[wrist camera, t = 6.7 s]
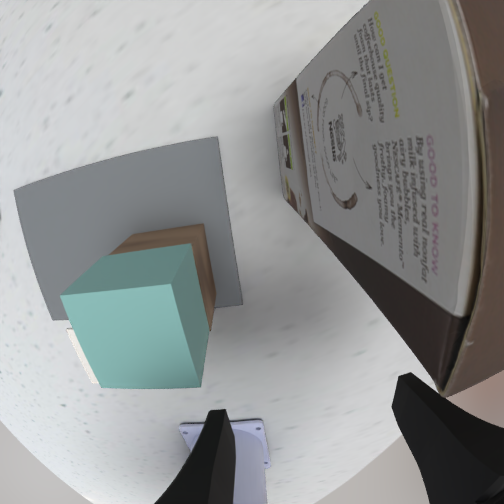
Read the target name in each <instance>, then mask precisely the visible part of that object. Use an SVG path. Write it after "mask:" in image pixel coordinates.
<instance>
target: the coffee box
mask: <svg viewBox="0 0 504 504" xmlns="http://www.w3.org/2000/svg"><path fill="white" fill-rule="evenodd" d="M274 115H275V124H276V133H277V143H278V152H279V162H280V172H281V181H282V189H283V195H284V198H285V200H286V201H287V202H288V203H289V204H290V205H291V206H292V207H293V208H294V209H295V211H296V212H297V213H298V214H299V215H300V216H301V217H302V218H303V220H304V221H305V222H306V223H307V224H308V225H309V226H310V227H311V228H312V230H313V231H314V232H315V233H316V234H317V236H318V237H320V239H321V240H322V241H323V242H324V243H325V244H326V245H327V247H328V248H329V249H330V250H331V251H332V252H333V253H334V255H335V256H336V257H337V258H338V259H339V261H340V262H341V263H342V264H343V265H344V267H345V268H346V269H347V270H348V271H349V272H350V274H351V275H352V276H353V277H354V278H355V280H356V281H357V282H358V283H359V284H360V286H361V287H362V288H363V289H364V290H365V292H366V293H367V294H368V295H369V297H370V298H371V299H372V300H373V302H374V303H375V304H376V305H377V307H378V308H379V309H380V311H381V312H382V313H383V314H384V316H385V317H386V318H387V319H388V321H389V322H390V323H391V324H392V326H393V327H394V328H395V330H396V331H397V332H398V333H399V335H400V336H401V337H402V339H403V340H404V341H405V343H406V344H407V345H408V347H409V348H410V349H411V350H412V352H413V353H414V354H415V356H416V357H417V359H418V360H419V361H420V363H421V364H422V365H423V367H424V368H425V369H426V371H427V372H428V374H429V375H430V376H431V378H432V379H433V381H434V383H435V385H436V388H437V390H438V392H439V394H440V396H441V397H443V398H446V397H449V396H452V395H454V394H456V393H458V392H461V391H463V390H465V389H467V388H469V387H472V386H473V385H475V384H478V383H480V382H482V381H484V380H486V379H488V378H489V377H491V376H493V375H495V374H497V373H499V372H501V371H502V370H504V0H370V1H369V2H368V3H367V4H366V5H364V6H363V8H362V9H361V10H360V11H359V12H357V13H356V14H355V15H354V16H353V17H352V18H351V19H350V20H349V21H348V23H347V24H345V25H344V26H343V27H342V28H341V29H340V31H339V32H338V33H337V34H336V35H335V36H334V37H333V38H332V39H331V40H330V41H329V42H328V43H327V44H326V45H325V47H324V48H323V49H322V50H321V51H320V52H319V53H318V54H317V55H316V56H315V57H314V58H313V59H312V60H311V62H310V63H309V64H308V65H307V66H306V67H305V68H304V70H302V72H301V73H300V74H299V75H298V77H297V78H296V79H295V80H294V81H293V82H292V83H291V85H290V86H289V87H288V88H287V89H286V90H285V91H284V93H283V94H282V95H281V96H280V98H279V99H278V100H277V101H276V102H275V103H274Z"/></svg>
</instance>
